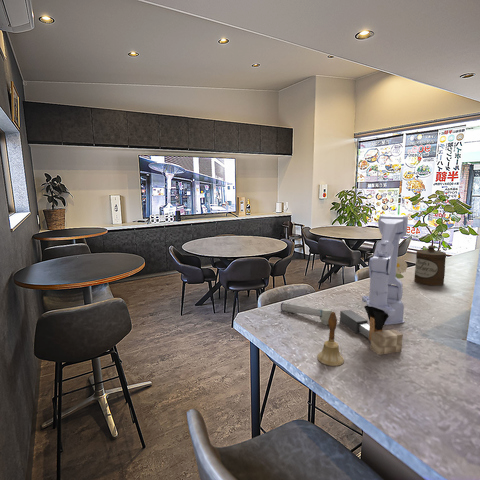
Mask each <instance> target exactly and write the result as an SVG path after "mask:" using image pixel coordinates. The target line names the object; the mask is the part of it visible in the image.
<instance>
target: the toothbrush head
mask: <svg viewBox="0 0 480 480" xmlns="http://www.w3.org/2000/svg"><path fill="white" fill-rule="evenodd" d="M280 310H281V311H282V312H287V313H294V314H300V315H306V316H307V315H309V316H315V317H319V319H320V323H321V324H323V325H324V326H329V325H328V321H329V317H330V314H331V312H333V310H332V309H331V308H319V307H317V308H316V307H313V306H309V305H303V304H296V303H292V302H290V301H289V302H284V301H283V302H281V304H280Z"/></svg>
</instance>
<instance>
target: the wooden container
mask: <svg viewBox="0 0 480 480" xmlns="http://www.w3.org/2000/svg"><path fill="white" fill-rule="evenodd" d="M435 249H436V247H435V246H434V245H432V244H430V245H428V246H427V249H419V250H416V252H415V253H416V254H415V255H416V256H415V257H416V258H415V266H414V282H415V283H418V284H421V285H426V286H435V287H436V286H443V285H444V284H445V283H444V282H445V273H446V259H447V258H446V257H447V254H446V252H444V251H441V250H435Z"/></svg>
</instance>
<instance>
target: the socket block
mask: <svg viewBox="0 0 480 480" xmlns="http://www.w3.org/2000/svg"><path fill="white" fill-rule="evenodd" d="M403 335H404V334H402V333H401V332H399V331H398V330H396V329H394V328H393V329H387V330H386V329H385V330H383V331H379V332H372V333H371V341H370V350H371V351H372V352H374V353H375V354H377V355H378V356H379V355H388V354H391V353H392V354H393V353H399V352H402V350H403V347H402V346H403Z"/></svg>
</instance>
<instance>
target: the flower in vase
mask: <svg viewBox="0 0 480 480" xmlns="http://www.w3.org/2000/svg"><path fill="white" fill-rule="evenodd" d="M407 267H408V264H407V261H405V259H404V258H402V257H400V256H398V258H397V268H396V278H397V279H399V280H400V279H403V278H405V276H404V275H403V274H404V273H405V272H407V270H408V268H407ZM389 285H392V284H389Z"/></svg>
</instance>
